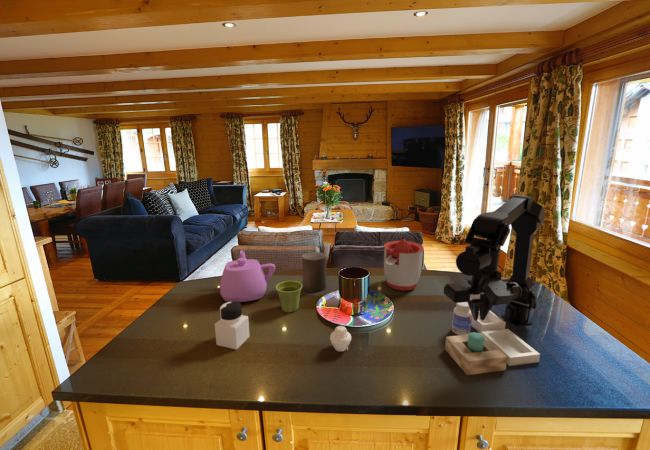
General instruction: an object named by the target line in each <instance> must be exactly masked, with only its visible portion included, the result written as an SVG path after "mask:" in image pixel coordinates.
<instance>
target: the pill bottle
mask: <svg viewBox="0 0 650 450" xmlns="http://www.w3.org/2000/svg"><path fill="white" fill-rule="evenodd" d="M455 304H456V305H455V306H456V307H453V308H454V309H453V311H452V312H453V313H452V314H453V315H452V322H451V323H452V326H451V331H452V332H453V334H455V335H457V336H458V335H467V334H469V333H471V329H472V326H471V321H472V313H471V311H470V308H469V305H468V303H467V302H461V303H456V302H455Z"/></svg>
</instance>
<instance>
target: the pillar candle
mask: <svg viewBox="0 0 650 450" xmlns="http://www.w3.org/2000/svg"><path fill="white" fill-rule="evenodd" d="M301 258H302V259H301V265H302V267H301V268H302V269H301V272H302V274H301V275H302V288H303V290H304V291H305V292H306V291H307V292H311V293H318V292H322V291H325V290H326V289H327V255H326V253H323V252H319V251H317V252H316V251H312V252H311V251H310V252H306V253H303V254H301Z"/></svg>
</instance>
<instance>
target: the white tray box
mask: <svg viewBox="0 0 650 450" xmlns="http://www.w3.org/2000/svg"><path fill="white" fill-rule="evenodd" d="M506 323H507V322H506V321H504V319H502V318H501V317H499V316H498V315H496V314H495V313H494V312H493V311H491V310H490V311H489V312H488V314H487V316H486V317H485V319H484V320H481V319H480V312H479V315H478V320H477V321H475V320H474V319H473V316H472V321H471V328H473V329H474V330H475V331H476V333H481V332H484V331H493V330H502V329H506V325H507V324H506Z"/></svg>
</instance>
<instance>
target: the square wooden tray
mask: <svg viewBox="0 0 650 450" xmlns="http://www.w3.org/2000/svg"><path fill="white" fill-rule="evenodd" d="M479 334H481V335H483V334H482V333H479ZM468 335H469V334H467V335H458V334H457V335H449V336H446V337H445V343H444V350H445V351H446V353H448V354H449V356H450V357H451V358H452V359H453V361H454V362H455V363H456V364H457V365H458V367H460V368H461V370H462V371H463V372H464V374H465V375H466V376H471V375H479V374H484V373H485V374H486V373H493V372H502V371H506V370H507V365H508V364H507V356H506V355H505V354H504V353H503V352H502V351H501V350H500V349H498V348H497V347H496V346H495V345H494V344H493V343H492V342H491V341H490V340H488V339H487V338H486V337H485V336H484V335H483V336H484V337H485V341H484V348H483V352H476V353H472V352H471V351H470V350H469V349H468V348H467V343H468Z"/></svg>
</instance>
